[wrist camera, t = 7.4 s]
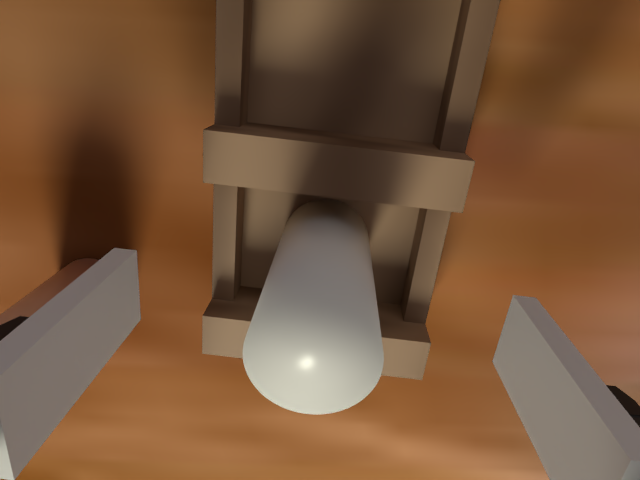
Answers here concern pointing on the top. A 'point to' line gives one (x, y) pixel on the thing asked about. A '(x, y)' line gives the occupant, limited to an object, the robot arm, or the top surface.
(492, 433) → the top surface
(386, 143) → the comb rack
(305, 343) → the plug grey
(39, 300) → the plug terracotta
